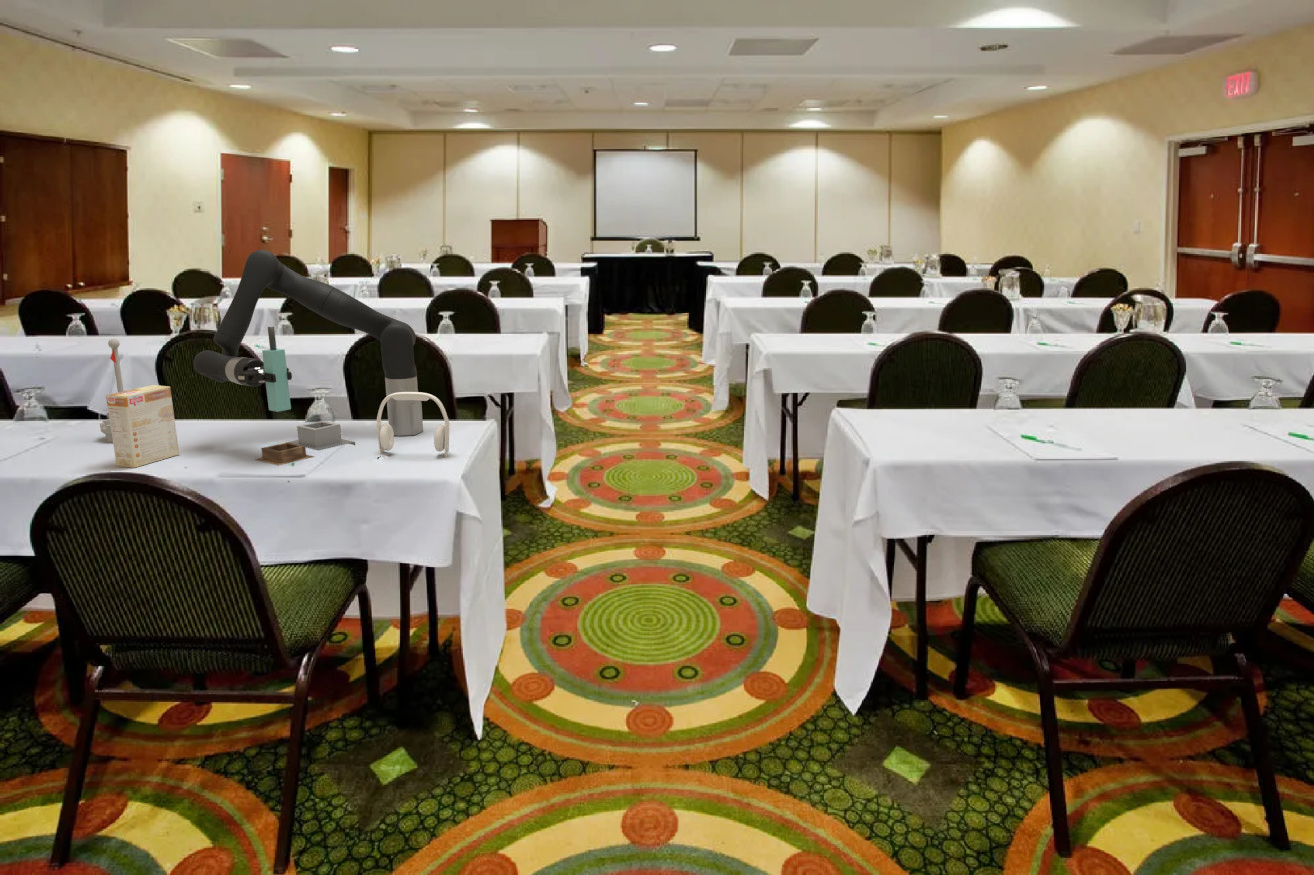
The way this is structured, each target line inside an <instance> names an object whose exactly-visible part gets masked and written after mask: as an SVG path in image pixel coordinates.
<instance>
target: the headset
mask: <svg viewBox="0 0 1314 875" xmlns="http://www.w3.org/2000/svg"><path fill="white" fill-rule="evenodd" d="M390 398H393V399H395V400H419V401H421V402H423V401H424V402H427V401H428V400H432V401H434V402H435V403H436V405H437V406H438V407H439V409H440V412H441V414H442V417H443V420H444V424H443V423H442V424H438V425H436V427H435V430H434V433H433V445H434V446H433V447H434V449H435V450H436V451H437V452H442V451H444V458H446V457H447V456H448V454H449V451H450V420H449V417H448V415H447V412H446V408H445V407H444V405H443V403H442V401H441V400H440V399H439V398H438V397H437V396H435V395H433V394H430V393H427V392H421V391H420V392H419V391H418V392H398V393H393V394H390V395H388V396H387V397H384V399H383V400H382V401H381V403H380V405H379V409H378V411H377V412H378V413H377V416H376V423H375V428H376V435H377V441H378V450H379V451H378V453H377V455H380V456H377V459H381V457H382V456H381V454H382V453H383V452H385V451H388V452H389V451H390V450H392V449H393V448H394V444H395V435H394V433H393V429H392V427H391V425H389V423H383V424H382V420H381V419H382V415H383V410H384V407H385V406H386V404H387V401H388V400H389V399H390Z"/></svg>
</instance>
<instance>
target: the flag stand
mask: <svg viewBox="0 0 1314 875" xmlns="http://www.w3.org/2000/svg"><path fill="white" fill-rule="evenodd" d="M120 344H121V343H120V340H118V339H117V338H110V339H109V340H108V343H107V345H108V347H109V348H111V352H112V353H111V356H109V359H110V360H111V361H112V362H113V367H114V373H115V374H114V376H115V382H116V388H117V393H118V392H123V391H124V384H123V378H122V370H121V364H120V356H119V347H120ZM99 427H100V428H99V429H100V432H101V433H102V434H104V435H105V440H106V442H108V443H113V438H112V432H111V425H110V419H105V420H103V421H102V422H100V423H99Z"/></svg>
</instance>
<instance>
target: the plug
mask: <svg viewBox="0 0 1314 875" xmlns="http://www.w3.org/2000/svg"><path fill="white" fill-rule="evenodd" d="M275 330H276V329H275V326H267V334H268V343H269V344H268V345H269V349H268V348H267V349H262V351H261V353H262V354H261V355H262V360H263V361H262V362H263V363H264V371H265V373H271V374H275V376H276V382H274V383H272V382H265V388H266V396H267V397H266V398H267V403H268V404H267V405H268V411H272V412H277V413H278V412H283V411H288V410H291V409H292V404H291V397H290V396H291V395H290V387H289V380H288V378H287V368H288V367H287V359H286V351H285V349H284V348H277V339H276V331H275Z"/></svg>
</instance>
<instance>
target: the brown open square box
mask: <svg viewBox="0 0 1314 875" xmlns="http://www.w3.org/2000/svg"><path fill="white" fill-rule="evenodd" d="M289 442H290V441H287V443H286V442H283V443H279V444H275V445H270V446H264V447H261V455H262V456H261V457H259V458H255V459H254V461H255V460H256V461H258V462H259V461H260V462H263V463H265V464H271V465H274V466H282V465H285V464H286V465H287V464H290V463H295V462H298V461H299V462H300V461H303V460H306V459H311V458H314V457H315V456H313V455H309V454H307V448H306V447H305V446H302V445H298V444H294V443H289Z"/></svg>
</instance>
